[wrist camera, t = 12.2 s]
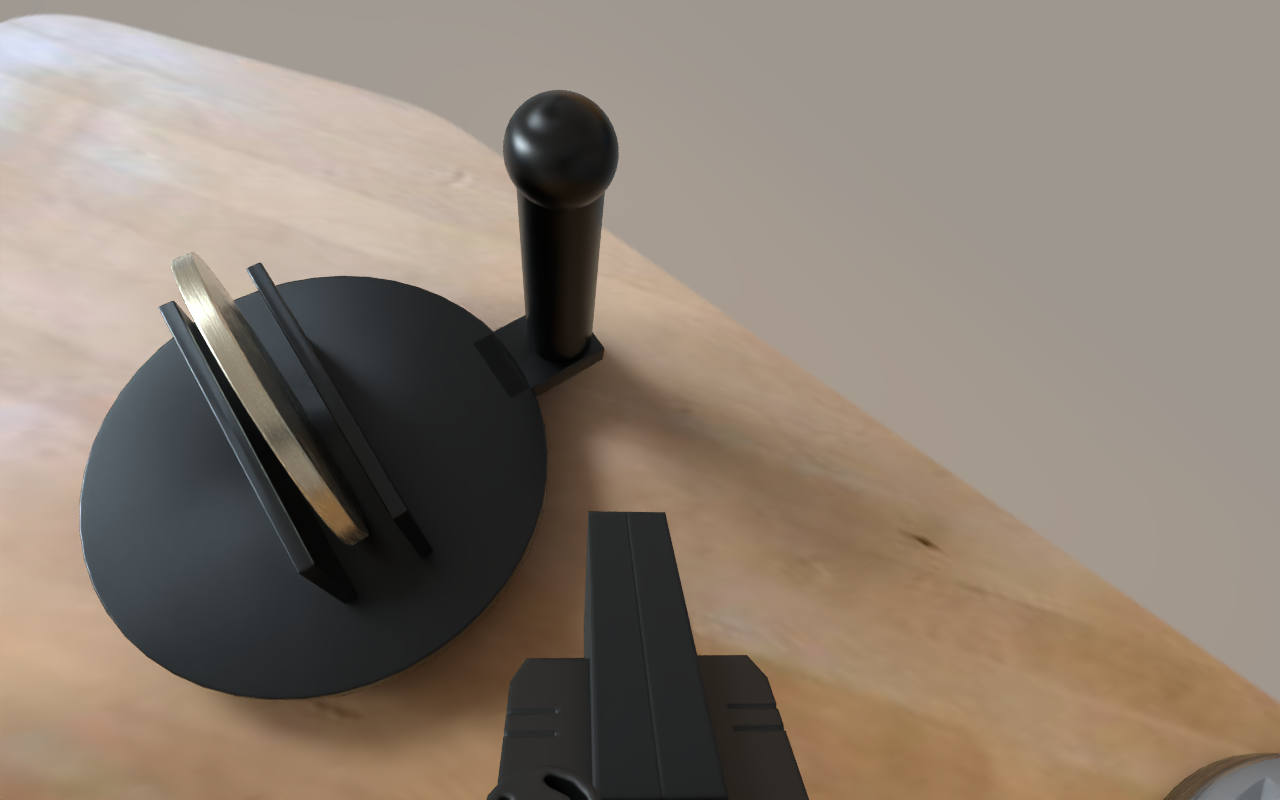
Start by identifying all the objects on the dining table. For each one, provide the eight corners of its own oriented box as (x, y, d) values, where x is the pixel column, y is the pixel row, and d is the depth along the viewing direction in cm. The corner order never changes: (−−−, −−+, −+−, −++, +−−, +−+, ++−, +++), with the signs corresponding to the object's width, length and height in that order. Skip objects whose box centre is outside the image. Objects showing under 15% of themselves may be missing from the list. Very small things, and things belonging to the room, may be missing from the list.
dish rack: (494, 198, 34) (461, -88, 22) (704, 479, 29) (803, 305, 17) (29, 410, 27) (-355, 167, 16) (203, 811, 23) (-161, 883, 11)
